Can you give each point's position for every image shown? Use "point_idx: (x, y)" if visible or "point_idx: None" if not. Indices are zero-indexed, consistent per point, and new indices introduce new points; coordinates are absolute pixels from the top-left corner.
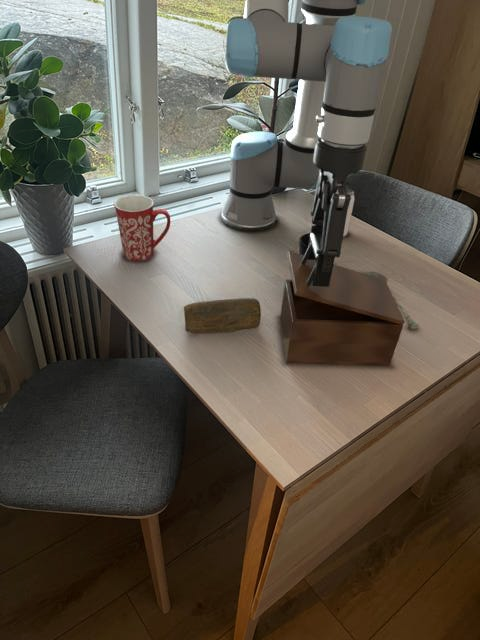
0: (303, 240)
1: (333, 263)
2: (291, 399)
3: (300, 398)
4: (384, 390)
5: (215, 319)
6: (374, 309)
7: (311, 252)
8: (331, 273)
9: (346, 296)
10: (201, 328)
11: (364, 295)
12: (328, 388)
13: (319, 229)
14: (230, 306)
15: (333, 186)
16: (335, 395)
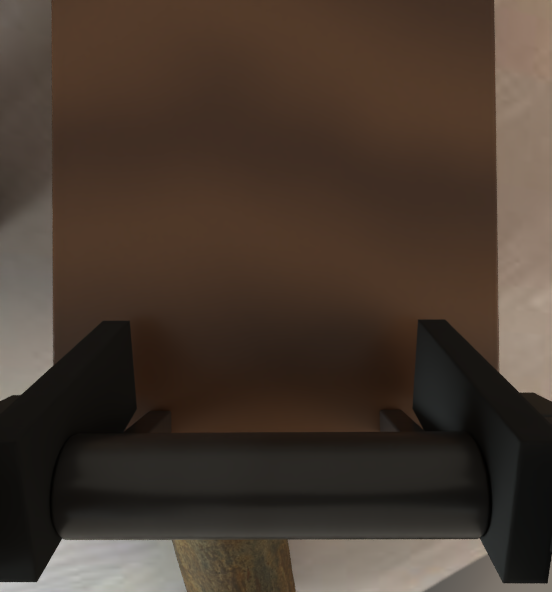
0: None
1: (514, 390)
2: (545, 325)
3: (543, 299)
4: (530, 11)
5: (284, 573)
6: (456, 13)
7: (119, 412)
8: (477, 353)
9: (401, 179)
10: (294, 586)
11: (331, 48)
12: (508, 208)
13: (34, 501)
14: (246, 555)
15: None
16: (540, 191)
